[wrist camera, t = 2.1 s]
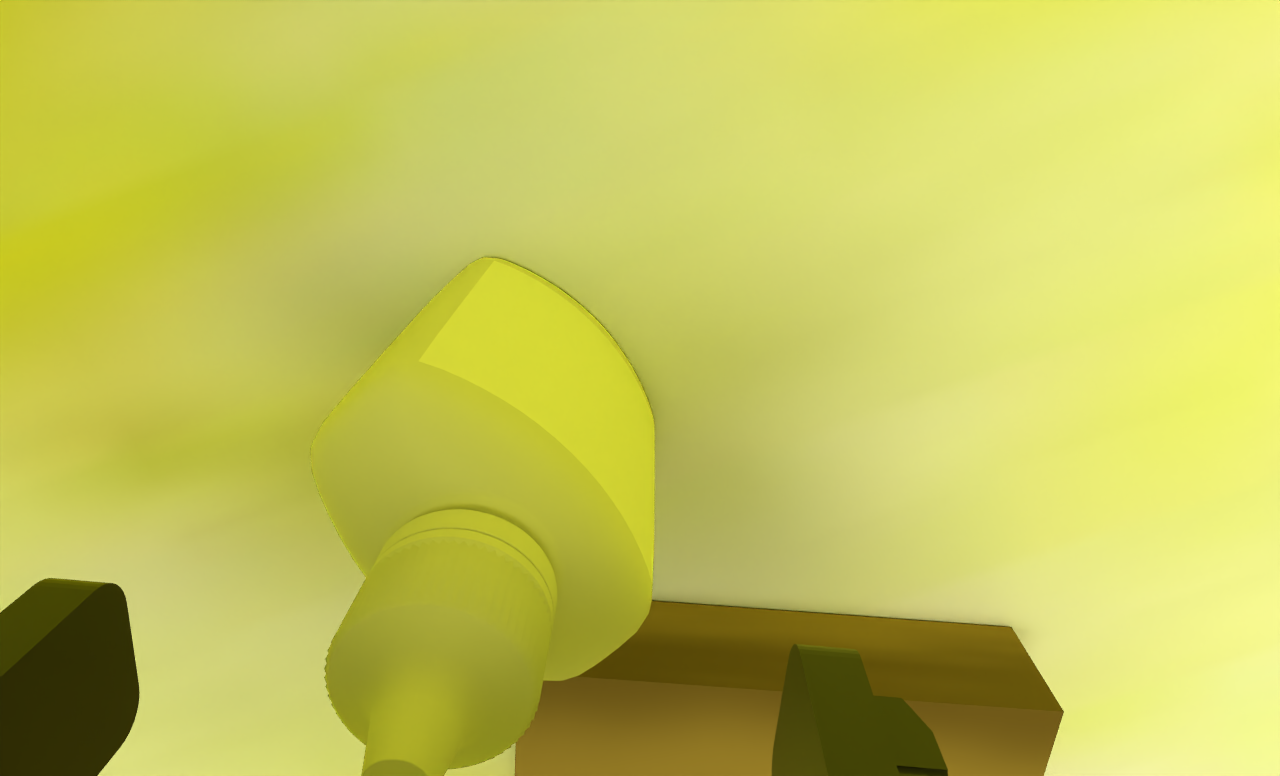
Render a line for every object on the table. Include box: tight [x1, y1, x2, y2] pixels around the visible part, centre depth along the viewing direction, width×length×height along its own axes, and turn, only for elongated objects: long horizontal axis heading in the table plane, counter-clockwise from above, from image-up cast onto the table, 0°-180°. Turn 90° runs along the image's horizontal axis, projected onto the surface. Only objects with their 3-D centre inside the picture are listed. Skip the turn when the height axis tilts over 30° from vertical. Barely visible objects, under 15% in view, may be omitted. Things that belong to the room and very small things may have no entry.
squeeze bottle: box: [310, 257, 655, 776], centre depth 14 cm, size 4×6×12 cm
